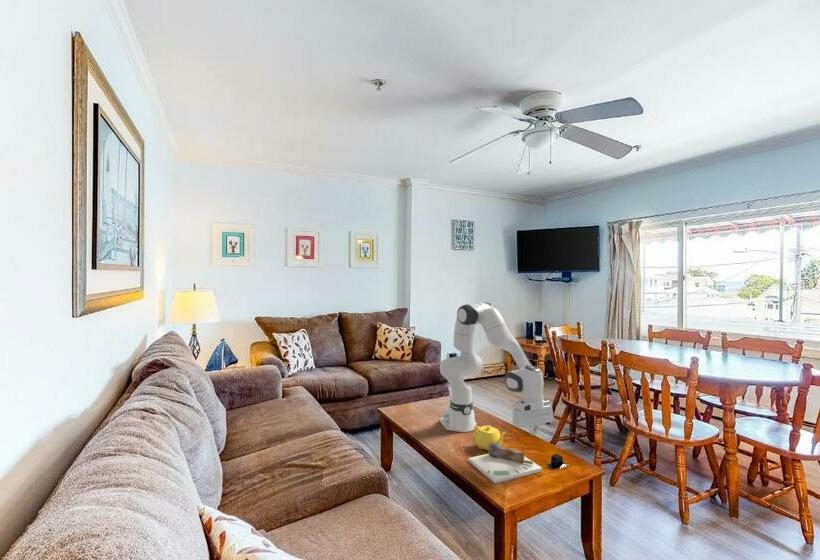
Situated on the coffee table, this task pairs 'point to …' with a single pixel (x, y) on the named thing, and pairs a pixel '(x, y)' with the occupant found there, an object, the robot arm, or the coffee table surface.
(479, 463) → the dial plate
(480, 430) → the teapot
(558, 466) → the black flanged block
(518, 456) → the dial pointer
